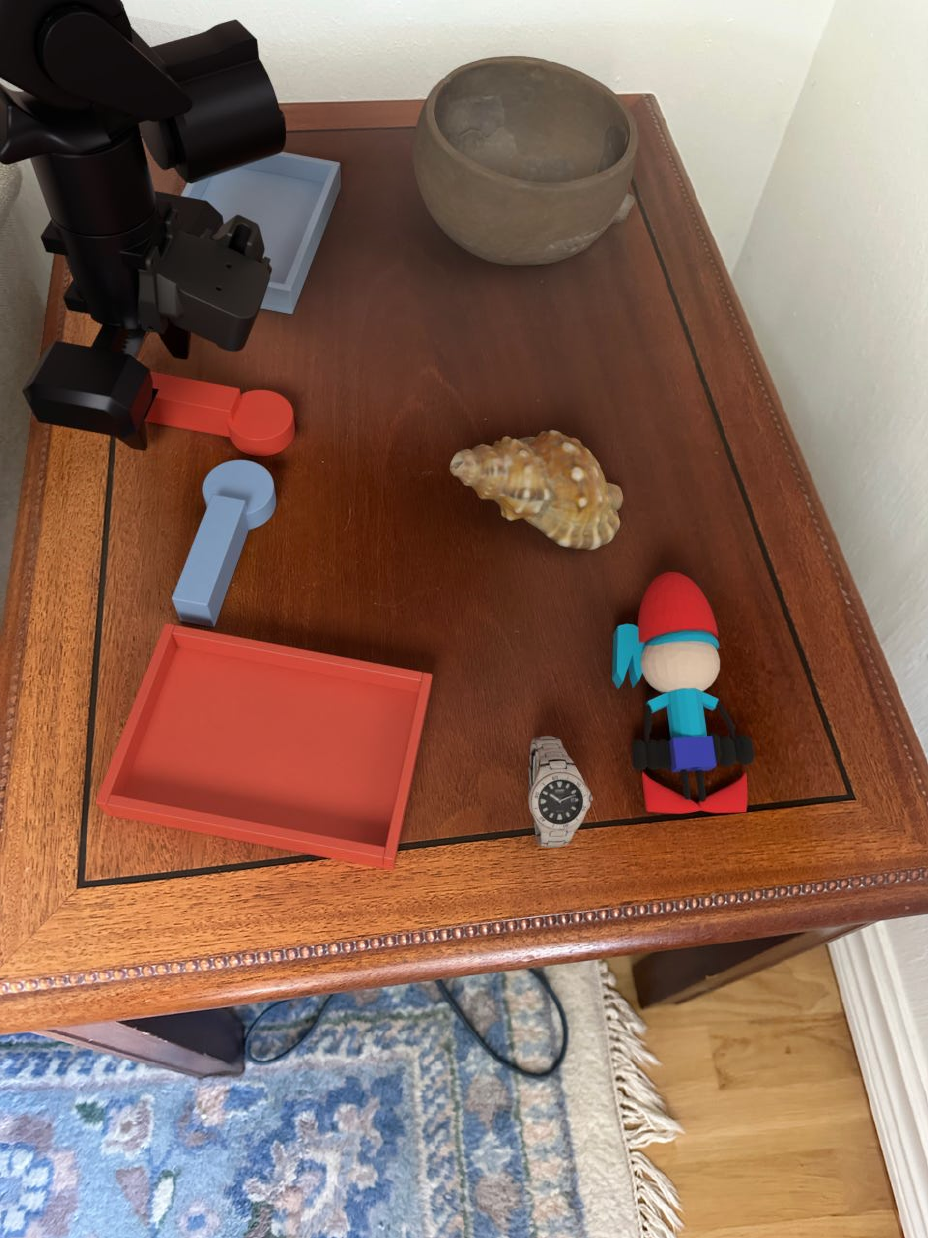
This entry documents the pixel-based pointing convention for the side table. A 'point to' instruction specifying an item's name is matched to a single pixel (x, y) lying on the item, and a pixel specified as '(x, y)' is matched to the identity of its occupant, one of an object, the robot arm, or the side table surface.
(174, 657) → the red tray
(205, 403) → the red spoon
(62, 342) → the robot arm
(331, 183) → the blue tray
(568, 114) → the bowl
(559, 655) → the side table surface
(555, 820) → the wristwatch
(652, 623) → the toy figure
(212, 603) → the blue spoon
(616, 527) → the seashell
